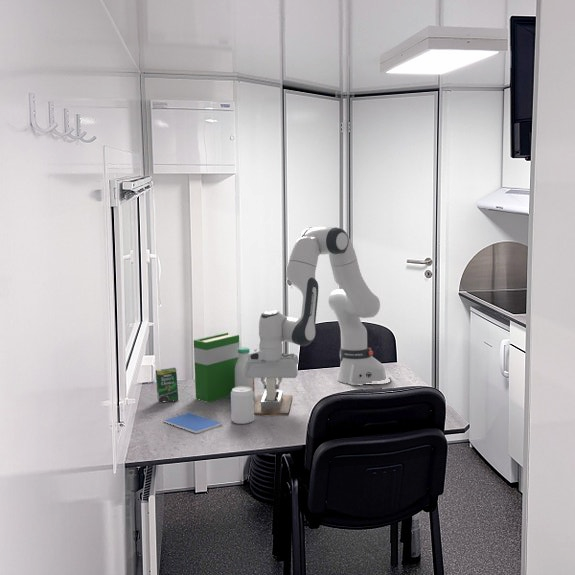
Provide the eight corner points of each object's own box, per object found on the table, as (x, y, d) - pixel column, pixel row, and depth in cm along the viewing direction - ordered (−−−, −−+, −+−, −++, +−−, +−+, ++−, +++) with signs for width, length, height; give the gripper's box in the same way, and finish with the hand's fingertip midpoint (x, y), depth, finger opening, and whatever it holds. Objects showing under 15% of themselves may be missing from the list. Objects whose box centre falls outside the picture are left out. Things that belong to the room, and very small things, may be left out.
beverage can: (228, 419, 273) (227, 387, 271) (249, 416, 276) (248, 384, 274) (236, 426, 266) (235, 393, 264) (257, 422, 269) (256, 390, 267)
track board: (292, 397, 298) (292, 395, 298) (288, 415, 277) (288, 413, 276) (257, 397, 299) (257, 395, 299) (250, 414, 278) (250, 412, 278)
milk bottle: (251, 400, 295) (250, 351, 292) (233, 399, 297) (231, 350, 294) (256, 394, 303) (255, 346, 300) (238, 393, 304) (236, 345, 301)
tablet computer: (162, 423, 272) (161, 419, 271) (189, 414, 281) (189, 411, 280) (196, 435, 258) (195, 431, 258) (223, 426, 267) (223, 422, 267)
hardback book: (228, 388, 311) (226, 332, 308) (240, 392, 306) (239, 334, 303) (195, 398, 299) (193, 340, 295) (208, 402, 294) (205, 342, 290)
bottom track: (282, 397, 295) (282, 390, 294) (279, 409, 280) (279, 402, 280) (265, 397, 295) (264, 390, 295) (261, 409, 281) (260, 402, 280)
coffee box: (158, 403, 293) (156, 371, 291) (156, 401, 296) (155, 369, 294) (178, 401, 296) (177, 368, 294) (177, 399, 299) (175, 367, 297)
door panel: (276, 392, 292) (276, 372, 291) (274, 400, 282) (274, 379, 281) (268, 392, 292) (268, 372, 291) (266, 400, 283) (265, 379, 281)
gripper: (298, 351, 287) (299, 386, 289) (245, 351, 289) (246, 386, 291) (297, 355, 281) (298, 391, 283) (243, 355, 282) (244, 390, 285)
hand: (271, 388), depth 287 cm, fingers closed on door panel, 3 cm apart
